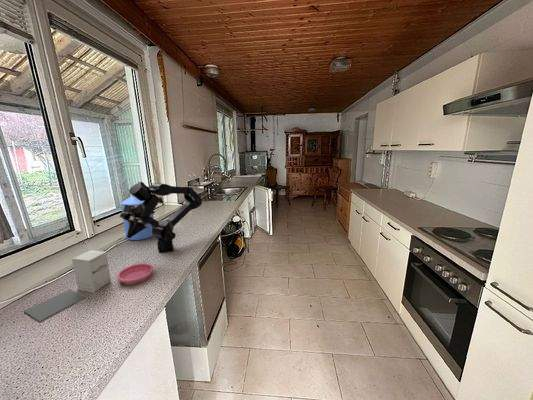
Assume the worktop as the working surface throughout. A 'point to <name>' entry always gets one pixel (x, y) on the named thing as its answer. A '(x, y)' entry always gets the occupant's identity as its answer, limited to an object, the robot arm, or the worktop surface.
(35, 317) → the dark rubber mat
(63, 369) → the worktop surface
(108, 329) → the worktop surface
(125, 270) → the saucer
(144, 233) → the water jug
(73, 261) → the supplement box
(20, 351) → the worktop surface
